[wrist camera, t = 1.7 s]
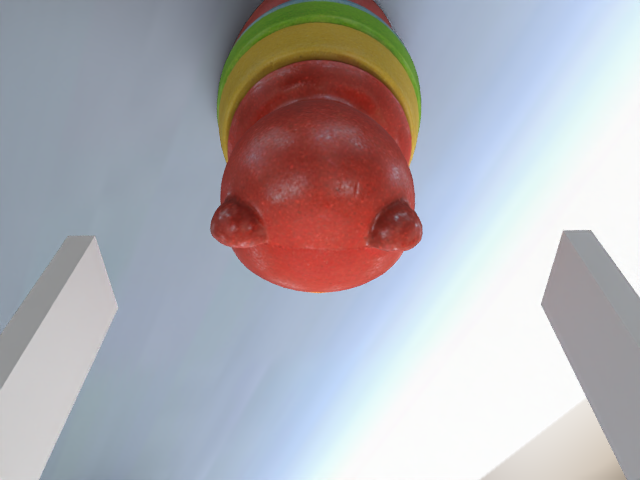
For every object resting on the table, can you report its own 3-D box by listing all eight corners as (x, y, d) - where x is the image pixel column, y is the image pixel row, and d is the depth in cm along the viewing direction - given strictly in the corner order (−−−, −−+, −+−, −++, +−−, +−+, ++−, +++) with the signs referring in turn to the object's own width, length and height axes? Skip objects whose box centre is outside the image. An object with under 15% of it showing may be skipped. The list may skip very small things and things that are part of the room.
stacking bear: (220, 140, 33) (144, 358, 18) (225, -41, 27) (121, 68, 13) (391, 161, 34) (447, 384, 19) (431, -11, 28) (554, 125, 14)
